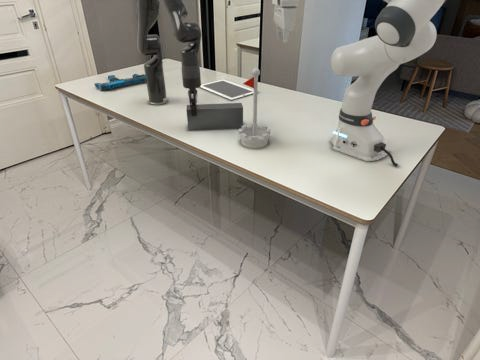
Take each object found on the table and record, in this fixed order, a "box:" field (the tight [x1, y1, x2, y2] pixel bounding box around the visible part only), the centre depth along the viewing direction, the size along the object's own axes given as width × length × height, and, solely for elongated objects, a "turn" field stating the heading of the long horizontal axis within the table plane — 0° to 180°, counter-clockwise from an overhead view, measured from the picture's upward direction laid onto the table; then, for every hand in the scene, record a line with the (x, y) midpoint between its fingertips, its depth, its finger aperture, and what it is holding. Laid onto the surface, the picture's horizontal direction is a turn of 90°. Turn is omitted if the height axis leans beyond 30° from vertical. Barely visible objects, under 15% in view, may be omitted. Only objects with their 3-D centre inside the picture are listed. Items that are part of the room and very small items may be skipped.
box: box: [186, 102, 244, 131], centre depth 151 cm, size 24×6×10 cm, turn 96°
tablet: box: [199, 78, 259, 101], centre depth 197 cm, size 32×20×1 cm, turn 41°
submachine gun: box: [94, 73, 146, 91], centre depth 208 cm, size 34×4×25 cm
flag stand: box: [238, 67, 272, 149], centre depth 132 cm, size 13×13×30 cm
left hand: (194, 112), depth 149 cm, fingers open, 8 cm apart
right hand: (282, 39), depth 128 cm, fingers open, 8 cm apart
